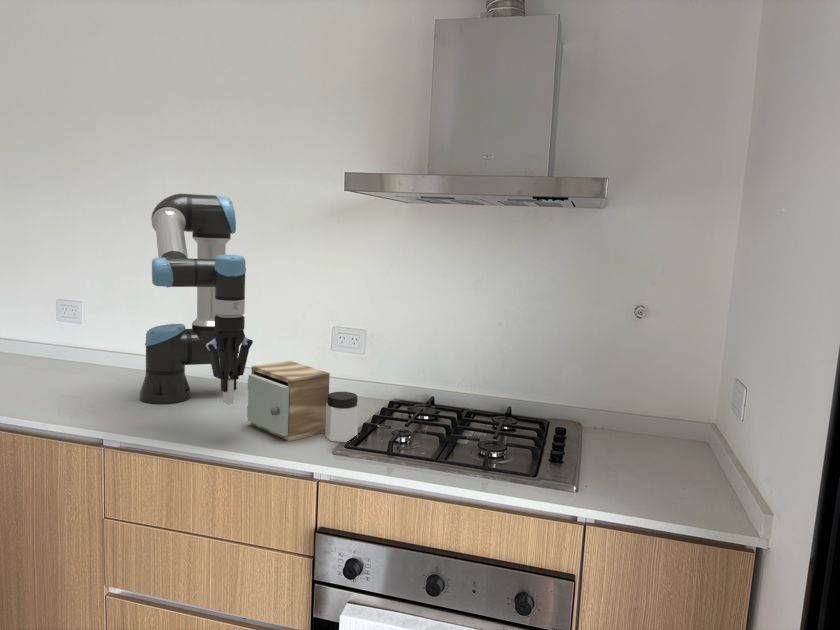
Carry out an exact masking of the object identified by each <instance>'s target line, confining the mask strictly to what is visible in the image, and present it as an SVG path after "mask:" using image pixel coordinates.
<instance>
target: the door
mask: <svg viewBox="0 0 840 630" xmlns="http://www.w3.org/2000/svg"><path fill="white" fill-rule="evenodd" d="M247 393H248V394H247V408H246V412H247V413H246V415H247V416H246V417H247V422H250V423H251V422H252V423H255V424H257V425H259V426H261V427H264V428H266V429H268V430H270V431H273V432H275V433H277V434H279V435H282V436H285V435H288V413H289V387H288V386H285V385H283V384H280V383H277V382H274V381H271V380H268V379H265V378H263V377H260V376H257V375H254V374H252V375H251V374H248V377H247Z"/></svg>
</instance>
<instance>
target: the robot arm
mask: <svg viewBox="0 0 840 630" xmlns="http://www.w3.org/2000/svg"><path fill="white" fill-rule="evenodd" d="M150 219H151V225H152V226H151V227H152V228H153V230H154V232H155V233H156V245H157V246H156V247H157V256H158V257H154V258H153V259H152V260H151V283H152V285H153V286H155V287H164V288H190V287H191V288H193V287H195V288H197V289H196V290H197V291H196V292H197V293H196V296H197V298H196V299H197V300H196V301H197V302H196V307H197V308H196V309H197V310H196V318H195V319H194V320H192V323H191V328H186V326H185V325H184V324H183V323H170V324H169V323H168V324H162V325H156V326H153V327H150V328H149V329H148V330H146V331H147V332H146V334H145V343H144V346H145V376H144V379H143V382H142V385H141V388H140V391H139V400H140V401H142V402H144V403H146V404H147V403H148V404H156V405H159V404H160V405H163V404H166V405H167V404H175V403H181V402H185V401H187V400H189V399H190V398H191V395H192V394H191V388H190V384H189V381H188V379H187V376H186V368H185V367H186V366H193V365H194V366H195V365H199V366H200V365H211V369H212V370H211V371H212V375H213V377H214V378H216V379H219V380H220V391H221V392H222V393H223V394H222V395H223V397H222V398H223V399H222V400H223V401H222V402H223V403H225V404H226V405H233V404H235V402H234V400H235V399H234V393H235V391H236V390H237V381H238V380H239V379H240V376H242V377H243V375H244V373H245V369H246V366H247V365H246V364H247V361H248V356H249V353H250V348H251V347H252V345H253V343H254V341H253V339H250V338H248V337H246V335H245V331H244V330H245V319H246V318H245V316H244V314H245V312H246V311H245V308H246V307H245V305H246V302H245V301H246V296H245V295H246V272H247V268H246V258H245V257H244V256H243V255H239V254H226V251H227V250H226V248H227V247H226V244H227V243H229V241H230V240H231V234H232V235H233V234H236V232H237V220H236V212H235V207H234V204H233V201H232V200H231V198H230V197H227V196H223V195H217V194H215V195H212V194H210V195H209V194H197V193H196V194H194V193H176V194H172V195H169V196H167V197H165V198H164V199H162V200H161V201H159V202H158V203H157V205H156V206H155V208H154V209H153V211H152V213H151V218H150ZM185 232H188V233H189V232H190V233H192V236H191V237H192V239H193V240H194V242H196V244H197V247H196V248H197V258H189V256H188V250H187V249H188V248H187V244H186V237H185Z"/></svg>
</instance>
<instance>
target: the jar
mask: <svg viewBox="0 0 840 630" xmlns="http://www.w3.org/2000/svg"><path fill="white" fill-rule="evenodd" d="M358 426H359V405H358V395H357V394H356V393H354V392H350V391H333V392H329V394H328V403H327V404H326V424H325V433H324V436H325V438H326V439H327V440H328V441H330V442H333V443H335V442H337V443H348V442H347V441H349V440H350V439H351V438H353V437H354V436H356V435H357V436H358V428H359V427H358ZM349 442H350V441H349Z"/></svg>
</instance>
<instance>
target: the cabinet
mask: <svg viewBox="0 0 840 630" xmlns="http://www.w3.org/2000/svg"><path fill="white" fill-rule="evenodd" d="M250 372H251V373H250V375H252V374H254V375H257V376H260V377H263V378H265V379H268V380H271V381H274V382H277V383H280V384H283V385H285V386H288V387H289V413H288V435H285V436H282V435H279V434H277V433H275V432H273V431H270V430H268V429H266V428H264V427H261V426H259V425H257V424H255V423H252V422H250V425H253V426H255V427H257V428H259V429H261V430H263V431H266V432H268V433H270V434H272V435H275V436H276V437H279V438H281V439H283V440H285V441H288V442H292V441H295V440H299V439H303V438H308V437H311V436H317V435H320V434H325V424H326V404H327V403H328V394H330V377H331V376H330V375H331V374H330V372H328V371H325V370H322V369H318V368H315V367H312V366H308V365H305V364H301V363H299V362H296V361H292V360H286V361H285V360H284V361H278V362H272V363H271V362H270V363H264V364H256V365H251V371H250Z"/></svg>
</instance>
